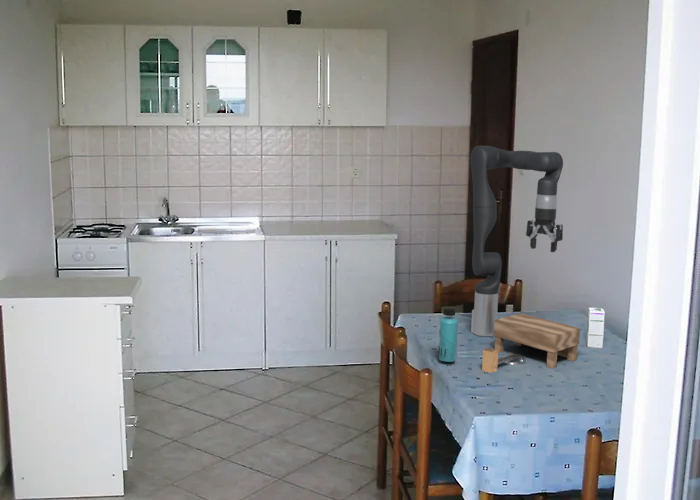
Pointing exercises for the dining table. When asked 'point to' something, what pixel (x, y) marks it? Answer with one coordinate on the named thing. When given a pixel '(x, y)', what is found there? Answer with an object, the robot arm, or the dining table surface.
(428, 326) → the dining table surface
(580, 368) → the dining table surface
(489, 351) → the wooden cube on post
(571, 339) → the small wooden stool
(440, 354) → the beverage bottle
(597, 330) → the syrup box
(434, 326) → the dining table surface
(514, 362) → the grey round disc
